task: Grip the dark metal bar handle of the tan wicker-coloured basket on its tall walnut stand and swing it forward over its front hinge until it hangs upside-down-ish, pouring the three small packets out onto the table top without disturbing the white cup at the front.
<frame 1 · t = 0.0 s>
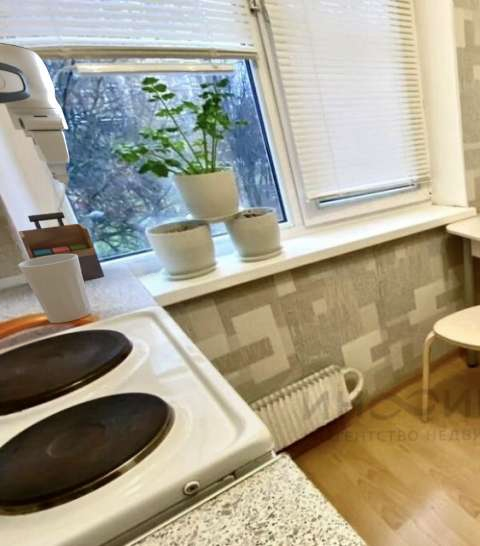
hand: (61, 181, 104), 24 cm above the countertop, tool pointing down, fingers open, 8 cm apart
cup: (71, 316, 85), on the countertop
basket: (55, 236, 103), point 11 cm above the countertop, hinge at 0.0°, touching basket stand, packet left, packet middle, packet right
packet middle: (62, 253, 104), point 7 cm above the countertop, touching basket
packet right: (79, 250, 106), point 7 cm above the countertop, touching basket
packet left: (44, 256, 102), point 7 cm above the countertop, touching basket
basket stand: (71, 278, 106), on the countertop
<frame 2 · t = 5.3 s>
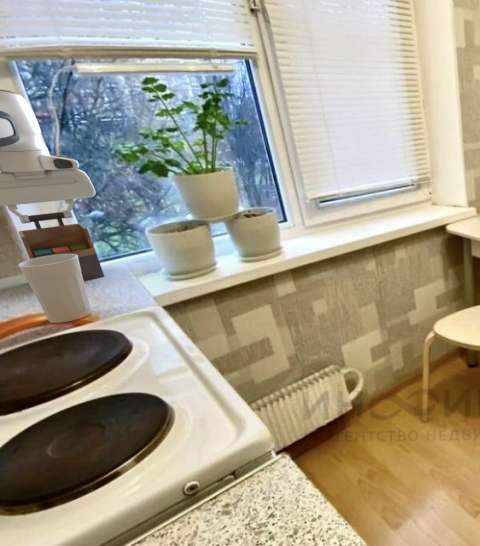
hand: (48, 220, 104), 14 cm above the countertop, tool pointing down, fingers closed on basket, 6 cm apart
basket: (55, 236, 103), point 11 cm above the countertop, hinge at 0.0°, touching gripper, packet left, packet middle, packet right
everything else where it was.
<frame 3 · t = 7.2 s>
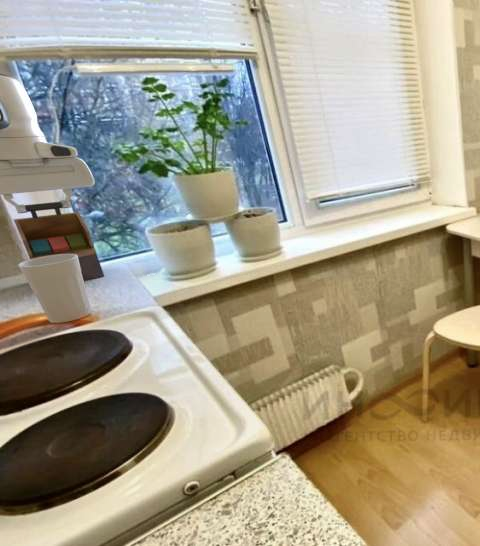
hand: (45, 210, 100), 17 cm above the countertop, tool pointing down, fingers closed on basket, 6 cm apart
basket: (54, 230, 101), point 13 cm above the countertop, hinge at 23.3°, touching gripper, packet left, packet middle, packet right
packet middle: (59, 246, 103), point 9 cm above the countertop, tilted 23°, touching basket
packet right: (77, 243, 105), point 9 cm above the countertop, tilted 23°, touching basket
packet left: (41, 249, 101), point 9 cm above the countertop, tilted 23°, touching basket
everything else where it was.
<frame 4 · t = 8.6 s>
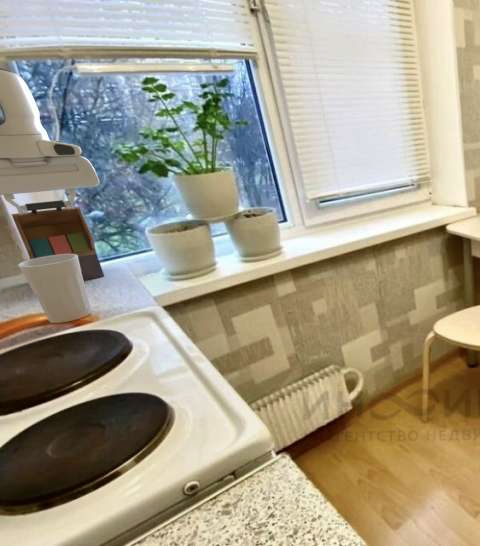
hand: (48, 211, 96), 18 cm above the countertop, tool pointing down, fingers closed on basket, 6 cm apart
basket: (55, 230, 98), point 13 cm above the countertop, hinge at 52.3°, touching gripper, packet left, packet middle, packet right
packet middle: (60, 247, 101), point 9 cm above the countertop, tilted 52°, touching basket
packet right: (78, 244, 103), point 9 cm above the countertop, tilted 52°, touching basket
packet left: (42, 250, 99), point 9 cm above the countertop, tilted 52°, touching basket
everything else where it was.
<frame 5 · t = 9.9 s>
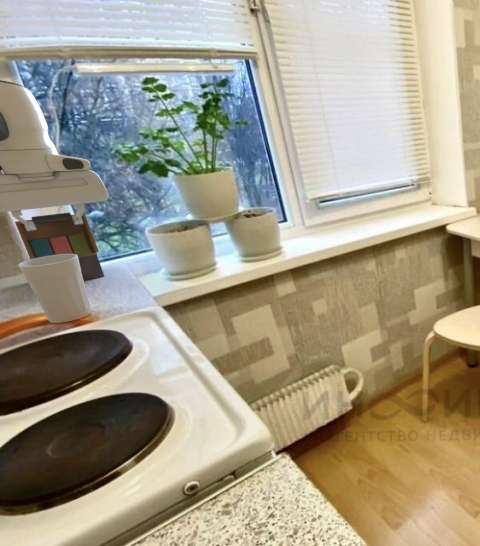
hand: (56, 227, 93), 15 cm above the countertop, tool pointing down, fingers closed on basket, 6 cm apart
basket: (58, 237, 97), point 12 cm above the countertop, hinge at 80.1°, touching gripper, packet left, packet middle, packet right
packet middle: (61, 246, 100), point 9 cm above the countertop, tilted 80°, touching basket
packet right: (79, 244, 102), point 9 cm above the countertop, tilted 80°, touching basket
packet left: (42, 249, 98), point 9 cm above the countertop, tilted 80°, touching basket
everything else where it was.
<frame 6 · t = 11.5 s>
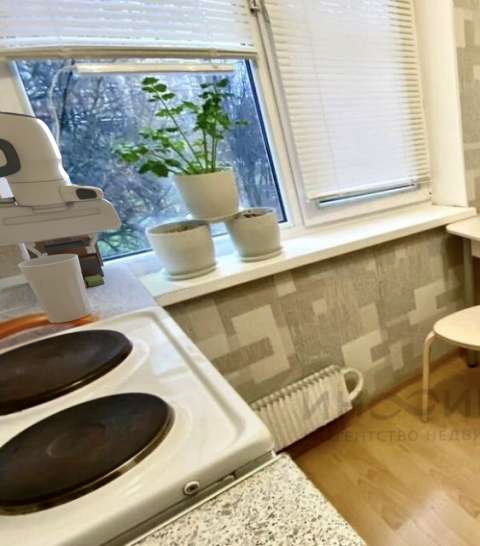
hand: (69, 256, 93), 9 cm above the countertop, tool pointing down, fingers closed on basket, 6 cm apart
basket: (65, 252, 96), point 9 cm above the countertop, hinge at 111.9°, touching gripper
packet middle: (76, 281, 100), point 1 cm above the countertop, tilted 180°
packet right: (93, 278, 103), point 1 cm above the countertop, tilted 180°
packet left: (57, 285, 98), point 1 cm above the countertop, tilted 180°
everything else where it was.
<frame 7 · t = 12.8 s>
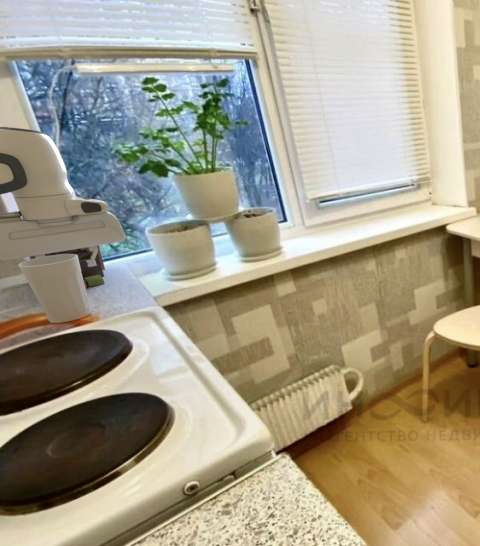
hand: (73, 269, 93), 6 cm above the countertop, tool pointing down, fingers open, 5 cm apart
basket: (67, 257, 97), point 8 cm above the countertop, hinge at 122.2°
everything else where it was.
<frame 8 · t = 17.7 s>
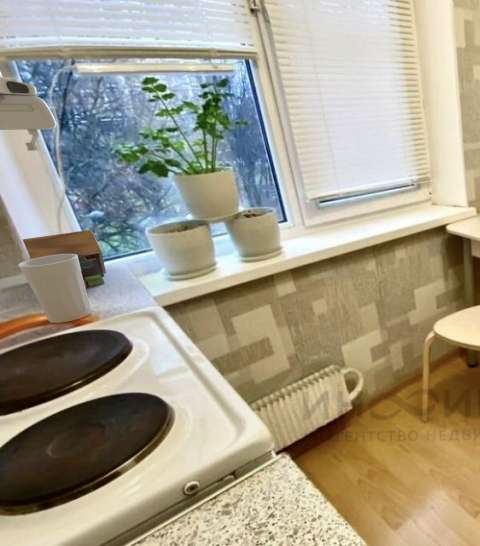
hand: (2, 151, 94), 31 cm above the countertop, tool pointing down, fingers open, 8 cm apart
basket: (69, 263, 97), point 6 cm above the countertop, hinge at 132.6°
everything else where it was.
at the end: basket at +133° (first picture: +0°); packet middle inside the target area (4.8 cm from its centre), point 1.2 cm above the countertop; cup moved 0.2 cm from its start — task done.
